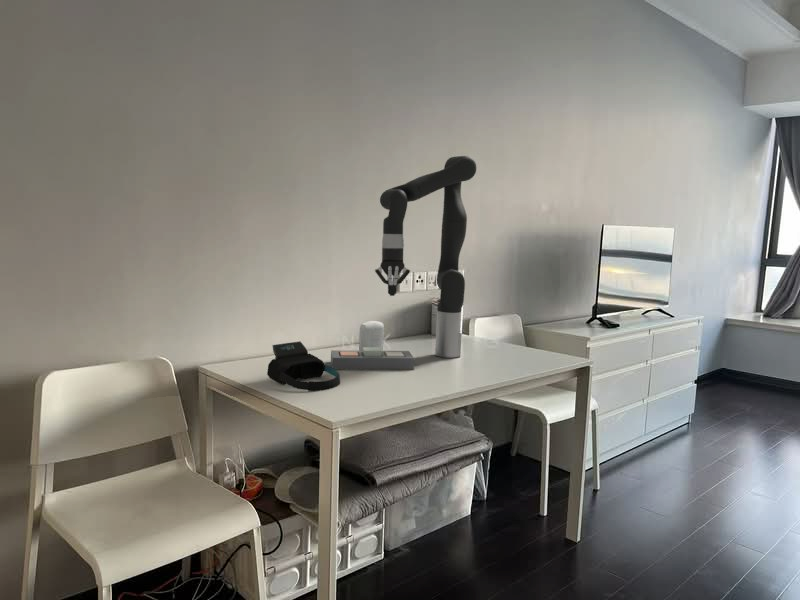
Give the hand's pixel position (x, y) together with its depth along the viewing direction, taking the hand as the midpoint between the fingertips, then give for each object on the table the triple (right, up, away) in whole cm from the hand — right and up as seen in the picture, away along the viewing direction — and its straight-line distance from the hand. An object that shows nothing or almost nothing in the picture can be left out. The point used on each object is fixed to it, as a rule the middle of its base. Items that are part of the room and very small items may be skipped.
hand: (391, 295), depth 224 cm
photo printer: (-8, -22, +17) cm, 29 cm away
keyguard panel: (-7, -25, -4) cm, 26 cm away
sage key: (-7, -22, -4) cm, 23 cm away
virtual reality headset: (-26, -28, -30) cm, 48 cm away
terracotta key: (-15, -23, -5) cm, 28 cm away
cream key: (+1, -23, -3) cm, 23 cm away
